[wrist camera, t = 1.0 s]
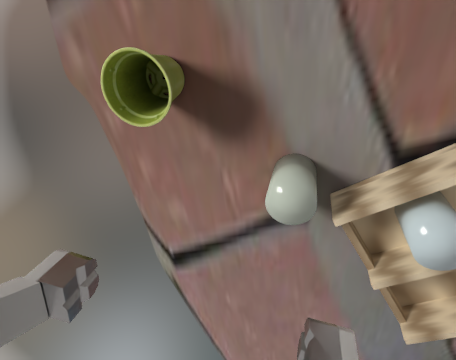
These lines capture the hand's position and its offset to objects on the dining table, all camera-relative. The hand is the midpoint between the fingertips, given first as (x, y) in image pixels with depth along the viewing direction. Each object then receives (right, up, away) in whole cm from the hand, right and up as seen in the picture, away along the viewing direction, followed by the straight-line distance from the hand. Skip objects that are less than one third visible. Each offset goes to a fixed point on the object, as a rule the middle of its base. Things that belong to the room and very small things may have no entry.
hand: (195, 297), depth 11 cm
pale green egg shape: (+11, +5, +34) cm, 36 cm away
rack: (+32, -4, +33) cm, 46 cm away
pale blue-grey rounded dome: (+28, +1, +31) cm, 41 cm away
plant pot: (-8, +19, +33) cm, 39 cm away
